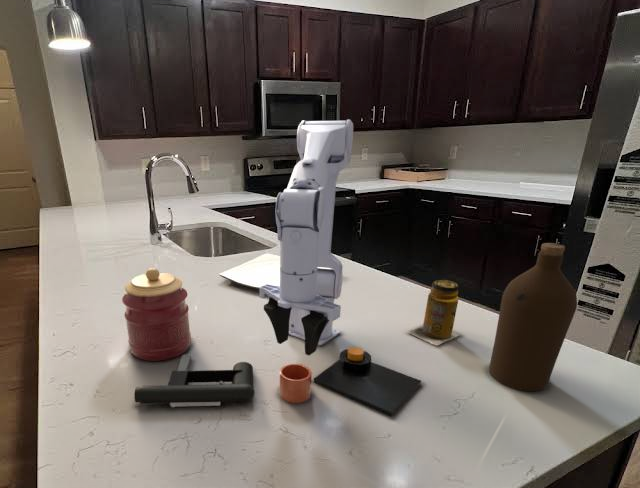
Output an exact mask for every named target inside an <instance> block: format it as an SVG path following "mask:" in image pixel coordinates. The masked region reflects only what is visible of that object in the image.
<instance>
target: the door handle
mask: <svg viewBox="0 0 640 488" xmlns="http://www.w3.org/2000/svg"><path fill="white" fill-rule="evenodd" d="M191 365H192V354H190V353H189V354H181V358H180V360H179V364H178V367H177V370H172V371H171V374H170V377H169V379H168V383H167V385H166V384H165V385H164V384H163V385H142V386H136V387H135V388H134V395H133V396H134V402H135V403H139V404H143V405H153V404H154V405H157V404H158V405H159V404H169V406H170V407H171V408H175V407H216V406H217V407H218V406H219V407H220V406H221V403H237V404H238V403H248V402H250V401H252V400H253V398H254V397H255V389H254V366H253V365H252V364H251V363H249V362H247V361H239V362H236V363H235V364H234V365H233V368H232V369H211V370H210V369H209V370H208V369H204V370H190V368H191ZM192 383H193V384H192ZM195 383H196V384H195ZM199 383H202V384H199ZM203 383H204V384H203ZM205 383H217V384H205Z"/></svg>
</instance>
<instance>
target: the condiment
mask: <svg viewBox="0 0 640 488" xmlns="http://www.w3.org/2000/svg"><path fill="white" fill-rule="evenodd" d="M459 286H460V285H459V284H458V283H456V282H455V281H451V280H447V279H438V280H434V281H433V282H432V283H431V288H430V292H429V293H428V294H427V300H426V305H425V306H426V307H425V312H424V318H423V325H422V326H420V327H417V328H416V329H413V330H409V331H408V333H409V334H411V335H412V336H414V337H416V338H418V339H420V340H423V342H427V343H429V344H432V345H434V346H436V347H437V346H440V345H441V344H444V343H446V342H448V341H451V340H453V339H456V338H458V337H459V336H460V334H459V333H458V332H457V333H456V332H454V331H453V329H454V324H455V319H456V313H457V309H458V304H459V296H458V295H459V289H460V288H459Z"/></svg>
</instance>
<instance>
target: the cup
mask: <svg viewBox="0 0 640 488" xmlns="http://www.w3.org/2000/svg"><path fill="white" fill-rule="evenodd" d="M312 375H313V372H312V370H311V369H310V368H309V367H308V366H306V365H304V364H301V363H289V364H286V365H285V364H284V365H283V366H282V367H281V368H280V370H279V377H278V378H279V379H278V380H279V386H278V387H279V389H278V390H279V396H280V398H281V399H282V400H283V401H286V402H288V403H292V404H299V403H304V402H307V401H308V400H309V399H310V398H311V393H312V377H313V376H312Z"/></svg>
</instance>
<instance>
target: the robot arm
mask: <svg viewBox="0 0 640 488" xmlns="http://www.w3.org/2000/svg"><path fill="white" fill-rule="evenodd" d="M296 131H297V132H296V149H297V152H298V154H299V155H298V156H299V158H300V160H299V161H298V162H297V163H296V164H295V165H294V167H293V170H292V173H291V176H290V178H289V181H288V184H287V187H286V188H284V190H283V192H281V191H280V192H278V194H277V196H276V200H275V223H276V227H277V240H278V241H279V256H280V286H274V285H269V284H265V285H263V286H261V287H259V289H258V290H259V294H258V295H259V298H260V299H268V301H267V303H266V304H264V305H263V311H264V312H265V314H266V315H267V317H268V319H269V321H270V324H271V325H272V328H273V331H274V336H275V338H276V339H275V340H276V343H277V344H279V345H282V344H283V343H285V342H287V341H288V340H289V335H290V336H292V337H295V338H298V339H300V340H304V353H305V355H306V356H311V355H312V354H314V353H315V352H317V348H318V346H319V347H320V346H321V347H322V346H323V345H324V344H327V342H329V341H331V340H332V339H334V338H335V337H336V336H338V335H339V334H340V333H341V332H340V330H338V329H335V328H333V323H334V321H336V320H338V319H340V318H341V311H342V310H341V308H342V305H340V304H338V303H335V300H338V299H339V298H341V294H342V287H343V263H342V261H341V260H340V259H339V258H338V257H336V256H335V255H334V254H333V253H332V251H331V250H332V238H333V226H334V215H335V200H336V188H337V181H338V177H339V175H340V172H341V171H342V170H345V169H347V168H349V165H350V163H351V158H352V149H353V141H354V140H353V139H354V123H353V122H352V120H351V119H346V120H306V119H305V120H303V119H302V120H301V122H299V124H298V126H297V130H296ZM317 267H324V268H331V269H321V268H317Z"/></svg>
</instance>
